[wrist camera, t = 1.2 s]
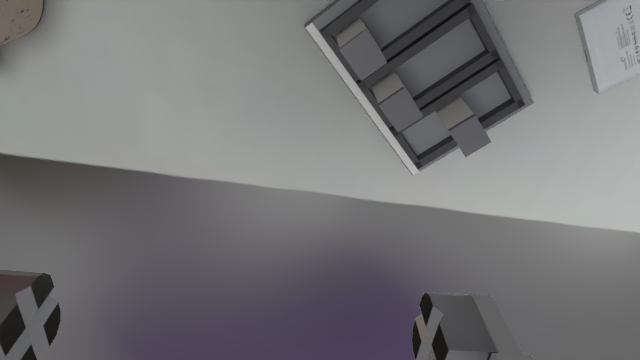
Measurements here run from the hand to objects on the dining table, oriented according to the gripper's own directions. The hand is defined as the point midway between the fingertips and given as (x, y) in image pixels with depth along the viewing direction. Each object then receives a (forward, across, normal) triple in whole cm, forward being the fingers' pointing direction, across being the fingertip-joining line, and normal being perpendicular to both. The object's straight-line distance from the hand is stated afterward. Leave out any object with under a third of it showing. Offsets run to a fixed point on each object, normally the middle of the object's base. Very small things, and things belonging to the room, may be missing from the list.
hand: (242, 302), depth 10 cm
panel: (+32, -12, +2) cm, 35 cm away
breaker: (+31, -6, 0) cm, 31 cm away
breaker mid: (+31, -10, +4) cm, 32 cm away
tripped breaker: (+31, -16, +6) cm, 35 cm away
